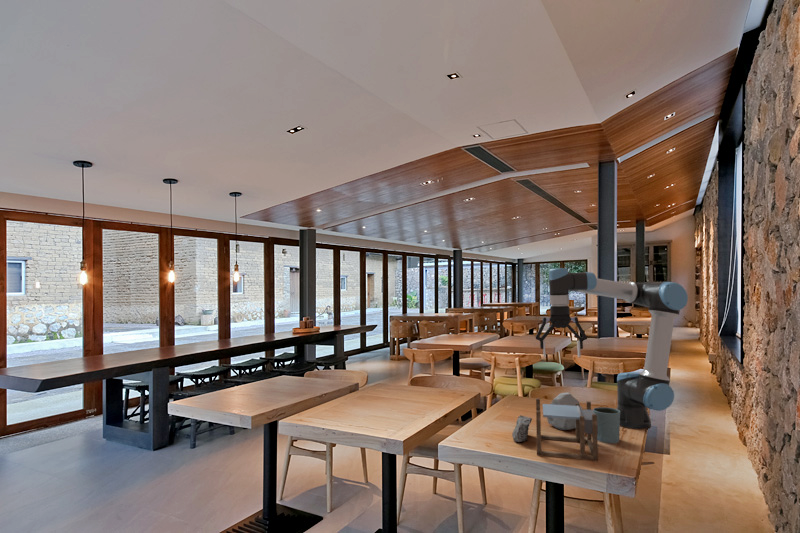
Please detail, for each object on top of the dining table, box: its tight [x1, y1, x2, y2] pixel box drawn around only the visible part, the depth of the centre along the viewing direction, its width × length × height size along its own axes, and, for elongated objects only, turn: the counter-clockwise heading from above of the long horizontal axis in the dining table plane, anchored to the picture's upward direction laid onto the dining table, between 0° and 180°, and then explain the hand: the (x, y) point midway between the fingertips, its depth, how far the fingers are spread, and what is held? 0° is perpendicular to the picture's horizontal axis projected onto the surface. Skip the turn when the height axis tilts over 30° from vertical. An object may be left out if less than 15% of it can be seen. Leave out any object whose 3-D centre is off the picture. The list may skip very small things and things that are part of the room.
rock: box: [511, 415, 533, 443], centre depth 195 cm, size 16×8×10 cm, turn 151°
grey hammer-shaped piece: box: [542, 403, 598, 435], centre depth 183 cm, size 19×17×6 cm
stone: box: [546, 392, 583, 431], centre depth 210 cm, size 12×12×15 cm
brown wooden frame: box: [535, 397, 599, 461], centre depth 184 cm, size 21×21×16 cm
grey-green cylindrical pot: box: [592, 406, 621, 444], centre depth 193 cm, size 10×10×12 cm
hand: (561, 356), depth 196 cm, fingers open, 13 cm apart
